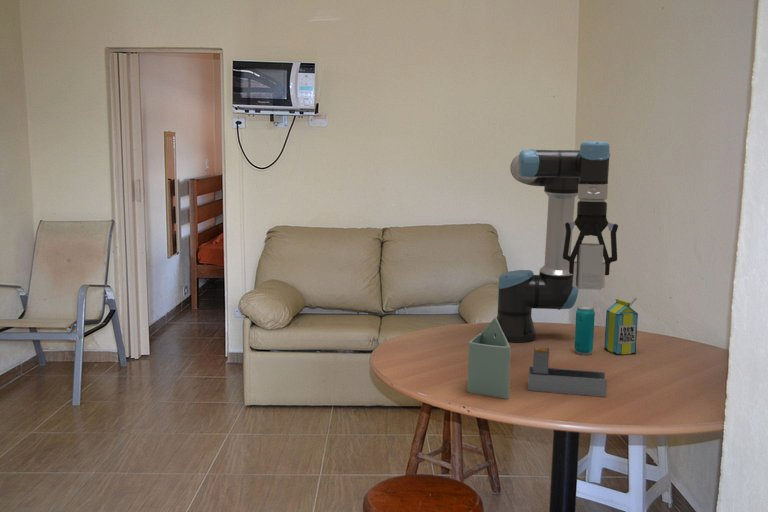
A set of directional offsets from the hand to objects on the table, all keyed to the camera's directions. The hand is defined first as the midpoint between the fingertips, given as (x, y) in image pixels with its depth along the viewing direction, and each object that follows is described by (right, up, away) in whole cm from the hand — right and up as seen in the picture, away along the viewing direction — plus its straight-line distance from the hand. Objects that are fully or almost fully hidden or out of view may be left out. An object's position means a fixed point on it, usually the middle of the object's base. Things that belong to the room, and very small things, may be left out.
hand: (588, 286), depth 192 cm
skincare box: (0, -1, 0) cm, 1 cm away
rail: (-6, -28, +1) cm, 28 cm away
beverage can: (+9, -23, +39) cm, 46 cm away
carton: (+22, -23, +41) cm, 52 cm away
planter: (-29, -28, -1) cm, 40 cm away
